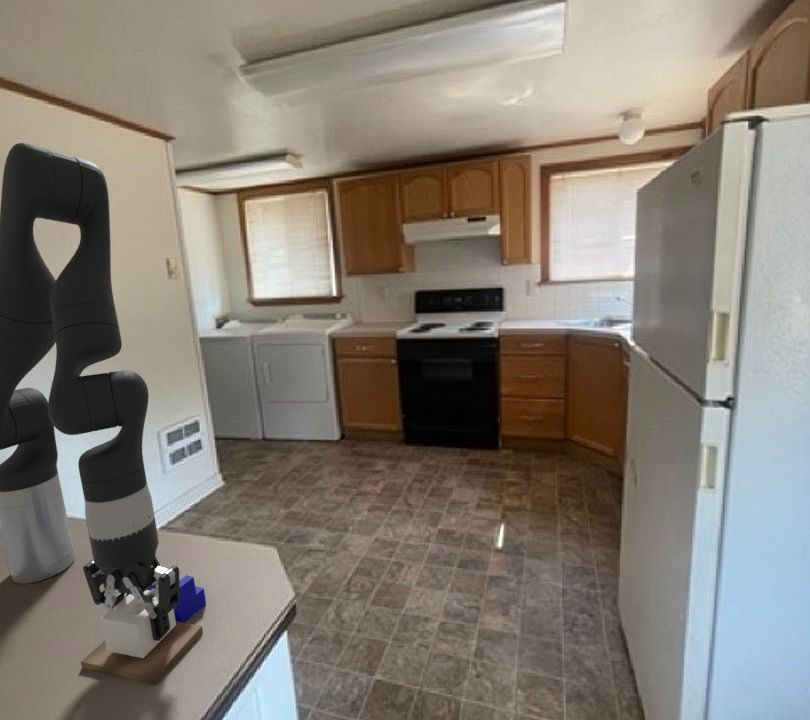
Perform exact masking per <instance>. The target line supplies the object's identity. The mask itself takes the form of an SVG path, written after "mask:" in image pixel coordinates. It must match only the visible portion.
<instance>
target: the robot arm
mask: <svg viewBox="0 0 810 720" xmlns="http://www.w3.org/2000/svg"><path fill="white" fill-rule="evenodd" d="M108 189H109V188H108V184H107V181H106V176H105V174H104V173H103V170H101V168H100V167H99V166H98V164H96V163H94V162H91V161H89V160H86V159H84V158H80V157H76V156H73V155H70V154H66V153H63V152H59V151H56V150H52V149H48V148H46V147H45V148H44V147H41V146H37V145H34V144H30V143H26V142H25V143H24V142H19V143H15V144H14V145H13V146H12V147H11V148H10V150H9V152H8V154H7V157H6V159H5V164H4V167H3V175H2V185H1V198H0V451H1V450H4V449H8V448H12V447H15V446H17V447H16V449H15V450H14V451H13V452H12V454H11V455H9V457H8V458H6V460H4V461H2V462H1V463H0V542H1V546H2V550H3V554H4V560H5V564H6V568H7V574H8V575H9V576H11V579H12V581H13V582H14V583H16V584H30V583H31V584H32V583H36V582H40V581H44V580H46V579H49V578H52V577H54V576H56V575H57V574H60V573H61V572H63V571H65V570H67V568H69V567H70V566H71V565H72V564H73V563H74V561H75V559H76V555H75V551H74V546H73V541H72V535H71V529H70V525H69V520H68V515H67V511H66V504H65V501H64V496H63V495H64V494H63V490H62V486H61V480H60V477H59V472H58V466H57V465H58V460H59V459H58V458H59V457H58V447H57V441H56V434H55V433H56V431H55V429H56V430H57V431H59V432H60V433H62V434H64V435H68V436H74V435H75V436H77V435H78V436H79V435H82V434H83V435H84V434H88V433H92V432H98V431H102V430H108V429H113V428H117V427H121V428H120V430H119V432H118V433H117V435H116V436H115V437H113V438H112V439H110V440H108V441H106V442H104V443H103V442H102V444H98V445H96V446H94V447H92V448H90V449H88V450H87V449H86V451H84V452H83V453H82V454H81V455H80V456H79V458H78V463H77V464H78V471H79V472H78V474H79V476H80V477H79V478H80V483H81V489H82V493H83V499H84V516H85V517H84V518H85V522H86V527H87V532H88V537H89V542H90V547H91V553H92V558H93V559H92V560H91V561H89V562H88V563H87V564H85V565H84V566H83V567H82V569H83V574H84V576H85V578H86V579H85V580H86V581H87V585H88V589H89V591H90V594H91V599H92V600H93V603H94V604H95V605H97V606H99V605H101V604H103V605H104V609H105V610H106V611H107V612H109V611H110V610H111V609H112V608H114V607H115V606H116V605H117V604H118V603H120V602H121V601H122V600H123V599H125V598H126V595H127V593H129V594H131V595H133V596H134V598H135V599H136V601H137V603H138V605H143V606H144V607H145V609H146V611H147V613H148V615H149V616H150V624H151V629H152V635H153V640H155V641H159V640H160V639H161V638H162V637H163V636H164V635H165V634H166V633H167V632H168V631H169V629H170V623H169V617H168V613H169V612H170V611H171V610H172V609H173V608H174V607H175V606H176V605H177V604H178V603H179V602H180V591H179V580H180V568H179V567H178V566H177V565H171V567H170V568H166V567H162V566H161V564H160V562H159V560H158V559H157V557H156V552H157V549H158V546H159V542H160V541H159V535H158V530H157V529H158V528H157V525H156V524H157V523H156V516H155V511H154V505H153V499H152V495H151V492H150V489H149V486H148V481H147V475H146V469H145V464H144V456H143V439H144V438H143V436H144V429H145V428H144V427H145V422H146V417H147V412H148V408H149V407H148V406H149V405H148V404H149V389H148V385H147V382H146V381H145V380H144V378H143V377H142V376H141V375H140V374H139V373H137V372H135V371H133V370H129V369H127V370H123V369H122V370H118V371H116V370H115V371H109V372H103V373H102V372H101V373H95V374H87V375H82V373H83V371H84V370H85V369H87V368H88V367H90V366H92V365H95V364H97V363H100V362H103V361H106V360H109V359H111V358H113V357H115V356H116V355H118V354H119V353H120V352H121V350H122V345H123V344H122V343H123V342H122V336H121V331H120V326H119V321H118V316H117V310H116V306H115V301H114V294H113V288H112V286H113V285H112V274H111V273H112V270H111V265H112V264H111V259H112V258H111V257H112V256H111V253H112V252H111V221H110V219H111V218H110V217H111V216H110V199H109V197H110V196H109V191H108ZM36 219H44V220H47V221H49V220H50V221H54V222H59V223H60V222H61V223H63V224H65V223H66V224H70V225H74V226H75V225H76V226H78V227H79V228H78V229H79V232H80V233H79V234H80V240H79V243H78V247H77V248H76V251H75V253H74V254H73V256H72V257H71V258H70V259H69V261H68V263H66V265H65V267H64V268H63V270H61V272H60V274H59V275H58V277H57V278H56V279H55V277H54V275H53V274H52V272H51V271H50V269H49V267H48V266H47V264H46V263H45V261H44V258H43V257H42V255H41V253H40V251H39V248H38V246H37V244H36V241H35V234H34V225H35V224H34V223H35V221H36ZM54 345H55V346H56V347H55V349H56V352H55V353H56V358H55V367H54V368H55V369H54V374H53V379H52V383H51V387H50V392H49V396H48V399H47V398H46V397H45V395H44V394H43V393H42V392H41V391H40V390H38V389H37V388H33V387H25V388H20V389H19V388H18V389H16V388H17V387H18V385H19V384H20V382H21V381H22V380H23V379H24V378H25V377H26V375H28V374H29V373H30V372H31V371H32V370H33V368H35V367H36V366H37V365H38V364H39V363H40V362H41V361H42V360H43V359H44V358H45V356H47V354H49V352H50V351H51V350H52V348H54ZM102 585H103V588H104V589H103V590H102V591H101V589H100V588H101V586H102ZM151 585H152V586H153V588H152V590H151V591H149V592H148V593H147V594H146V595H145V594H144V593H143V592H144V591H146V590H147V589H148V588H149V587H150V586H151ZM154 597H156V599H157V601H158V604H157V605H156V606H155V605H154V603H153V602H152V599H153V598H154Z"/></svg>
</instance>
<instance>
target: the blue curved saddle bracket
mask: <svg viewBox="0 0 810 720" xmlns="http://www.w3.org/2000/svg"><path fill="white" fill-rule="evenodd" d="M152 588H153V586H152V585H151V586H150V587H149V588H148V589H147V590H149V591H151V590H152ZM179 591H180V602H179V603H178V604H177V605H176V606H175V607H174V614H175V620H176V621H177V622H183V623H187V622H188V621H189V620H190V619H191V618H192V617H194V616H195V615H196V614H197V613H198V612H199V611H201V609H203V608H204V607H205V606H206V605H207V601H206V594H205V588H203V587H200V586H196V584H195V577H194V576H192V575H187V574H186V575H184V576H183V577H182V578H179ZM128 595H129V593H127V595H126V597H127V596H128Z"/></svg>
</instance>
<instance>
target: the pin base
mask: <svg viewBox="0 0 810 720" xmlns="http://www.w3.org/2000/svg"><path fill="white" fill-rule="evenodd" d="M202 633H203V625H201V624H199V625H198V624H193V623H187V622H185V623H183V622H177V621H176V626H175V627H174V628H173V629H172V630H171V631H170V632H169V633H168V634H167V635H166V636H165V637H164V638H163V639H162V640H161V641H160V642H159V643H158V644H157V645H156V646H155V647H154V648H153V649H152V650H151V651H150V652H149V653H148V654H147V655H146V656H145V657H144V658H139V657H134V656H130V655H125V654H120V653H115V652H110V651H107V649H106V644H105V640H104V641H102V642H101V643H100V644H98V646H97V647H95V648H94V649H93V650H92V651H91V652H90V653H88V655H87V656H86V657H84V658H83V659H81V660H80V665H81V669H84V670H88V671H94V672H97V673H103V674H108V675H111V676H116V677H120V678H125V679H130V680H133V681H138V682H142V681H143V683H147V684H150V685H151V684H153V685H157V684H158V682H160V680H161V679H162V678H163V677H164V676H165V674H167V673H168V671H169V670H170V669H171V668H172V667H173V666H174V665H175V664H176V663H177V662H178V660H179V659H180V658H181V657H182V656H183V655H184V654H185V652H187V650H188V649H189V648H190V647H191V646H192V645H193V644H194V643H195V641H196V640H197V639H198V638H199V637H200V635H202Z"/></svg>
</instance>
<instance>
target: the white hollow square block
mask: <svg viewBox="0 0 810 720" xmlns="http://www.w3.org/2000/svg"><path fill="white" fill-rule="evenodd" d="M148 592H149V590H146V591H144V592H143V593H144V594H145V595H146V594H147V593H148ZM152 602H153V603H154V605H155V606H156V605H157V604H158V601H157V599H156V597H154V598H153V599H152ZM168 617H169V623H170V629H169V631H168V632H167V633H166V634H165V635H164V636H163V637H162V638H161V639H160V640H159V641H155V640H153V635H152V629H151V624H150V616H149V615H148V613H147V611H146V609H145V607H144V606H143V605H138V603H137V601H136V599H135V598H134V596H133V595H131V594H129V595H128V596H127V597H126V598H125V599H123V600H122V601H121V602H120V603H118V604H117V605H116V606H115V607H114V608H112V609H111V610H110V611H107V612H106V613H105V614H103V616H101V617H100V623H101V628H102V632H103V638H104V641H105V644H106V649H107V651H110V652H115V653H120V654H125V655H130V656H134V657H139V658H144V657H145V656H146V655H147V654H148V653H149V652H150V651H151V650H152V649H153V648H154V647H155V646H156V645H157V644H158V643H159V642H160V641H161V640H162V639H163V638H164V637H165V636H166V635H167V634H168V633H169V632H170V631H171V630H172V629H173V628H174V627H175V626H176V620H175V614H174V608H173V609H172V610H171V611H170V612H169V613H168Z"/></svg>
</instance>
